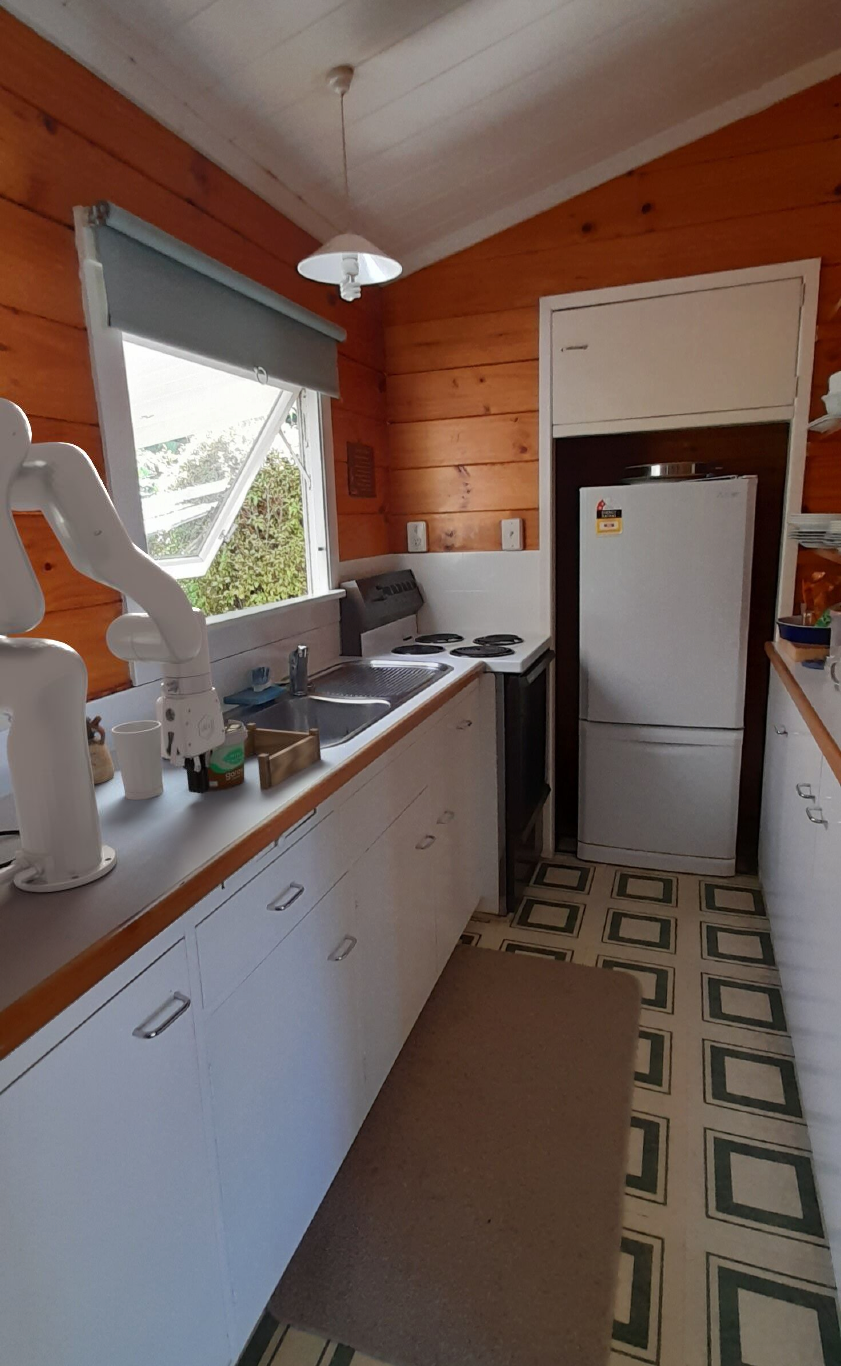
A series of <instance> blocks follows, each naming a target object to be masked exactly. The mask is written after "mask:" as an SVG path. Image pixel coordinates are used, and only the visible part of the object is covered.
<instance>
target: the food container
mask: <svg viewBox="0 0 841 1366" xmlns="http://www.w3.org/2000/svg"><path fill="white" fill-rule="evenodd" d="M227 723H228V724H227V725H224V730H225V741H224V742H223V744H222V745H220V746H218V747H216V748H218V749H217V750H216V751H214V752H213V753H212V755H211V758H210V766H209V767H207V768H208V773H209V783H210V790H209V791H220V790H226V789H229V788H234V787H237V786H239V785H241V784H242V783H243V782H244V781H245V758H244V740H245V739H246V738H247V737H248V734H247V731H246V730H247V727H246V725H244V723H243V722H242V721H239V720H234V719H228V722H227ZM209 791H208V792H209Z"/></svg>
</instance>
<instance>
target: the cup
mask: <svg viewBox="0 0 841 1366" xmlns="http://www.w3.org/2000/svg"><path fill="white" fill-rule="evenodd" d="M111 735H112V739H113V745H114V747H115V752H116V757H117V761H118V766H119V770H120V775H121V780H122V784H123V789H124V796H125V798H126V799H128V800H133V801H138V800H139V801H140V800H146V799H147V800H148V799H152V798H155V797H157V796H159V795H160V796H161V795H162V794H163V793H164V784H163V766H162V765H163V763H162V761H163V760H162V752H161V723H160V722H158V721H157V720H136V721H130V722H125V723H121V724H118V725H115V726H114V727H112V728H111Z"/></svg>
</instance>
